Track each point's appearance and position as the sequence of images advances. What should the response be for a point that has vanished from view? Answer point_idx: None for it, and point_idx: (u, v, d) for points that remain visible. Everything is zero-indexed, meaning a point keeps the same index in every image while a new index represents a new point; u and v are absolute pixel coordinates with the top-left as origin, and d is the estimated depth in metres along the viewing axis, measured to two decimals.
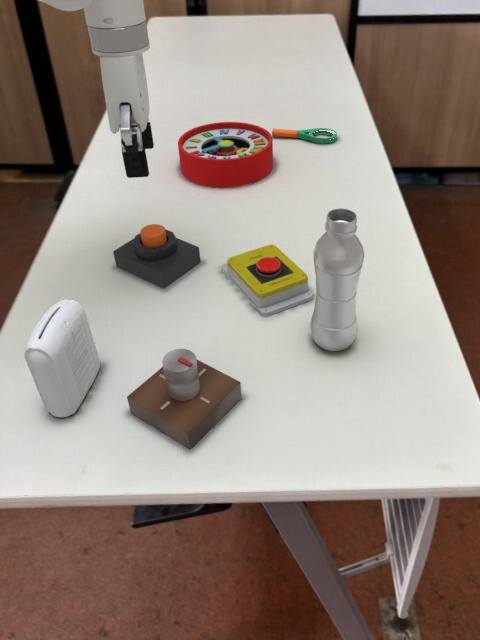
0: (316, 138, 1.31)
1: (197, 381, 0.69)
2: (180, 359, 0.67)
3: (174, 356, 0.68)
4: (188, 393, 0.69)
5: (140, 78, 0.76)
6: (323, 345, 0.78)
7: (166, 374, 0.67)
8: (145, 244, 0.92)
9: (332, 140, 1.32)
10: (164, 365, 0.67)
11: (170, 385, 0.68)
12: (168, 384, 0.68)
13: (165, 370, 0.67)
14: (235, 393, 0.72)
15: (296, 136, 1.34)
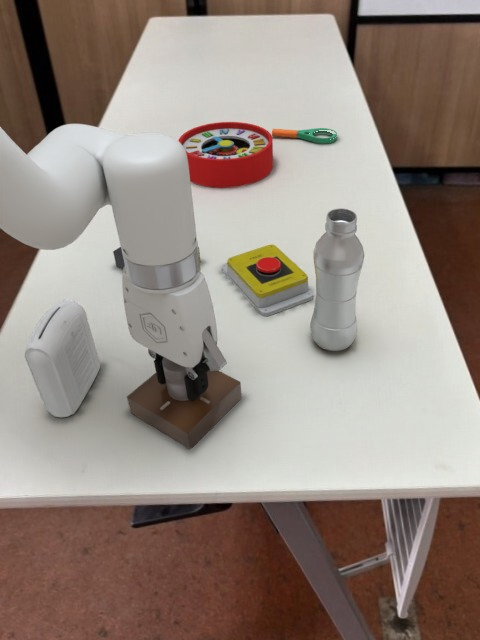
0: (316, 138, 1.31)
1: None
2: None
3: None
4: None
5: None
6: (323, 345, 0.78)
7: (166, 374, 0.67)
8: None
9: (332, 140, 1.32)
10: (164, 365, 0.67)
11: (170, 385, 0.68)
12: (168, 384, 0.68)
13: (165, 370, 0.67)
14: (235, 393, 0.72)
15: (296, 136, 1.34)
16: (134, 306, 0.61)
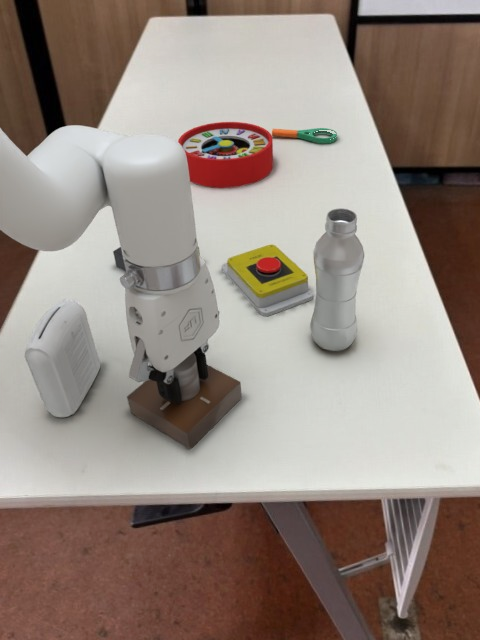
0: (316, 138, 1.31)
1: None
2: None
3: None
4: None
5: None
6: (323, 345, 0.78)
7: (190, 374, 0.67)
8: None
9: (332, 140, 1.32)
10: (185, 369, 0.66)
11: (194, 383, 0.68)
12: (192, 384, 0.68)
13: (189, 371, 0.67)
14: (235, 393, 0.72)
15: (296, 136, 1.34)
16: (172, 325, 0.59)
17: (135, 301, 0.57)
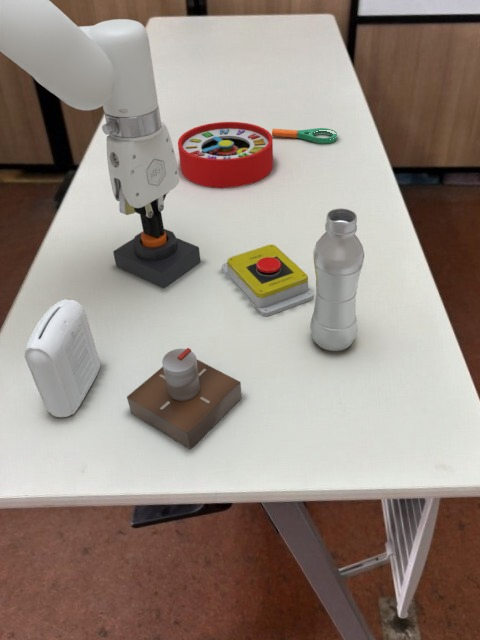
0: (316, 138, 1.31)
1: None
2: (181, 356, 0.67)
3: (174, 363, 0.67)
4: None
5: None
6: (323, 345, 0.78)
7: (190, 374, 0.67)
8: None
9: (332, 140, 1.32)
10: (185, 369, 0.66)
11: (194, 383, 0.68)
12: (192, 384, 0.68)
13: (189, 371, 0.67)
14: (235, 393, 0.72)
15: (296, 136, 1.34)
16: (141, 168, 0.81)
17: (113, 146, 0.79)
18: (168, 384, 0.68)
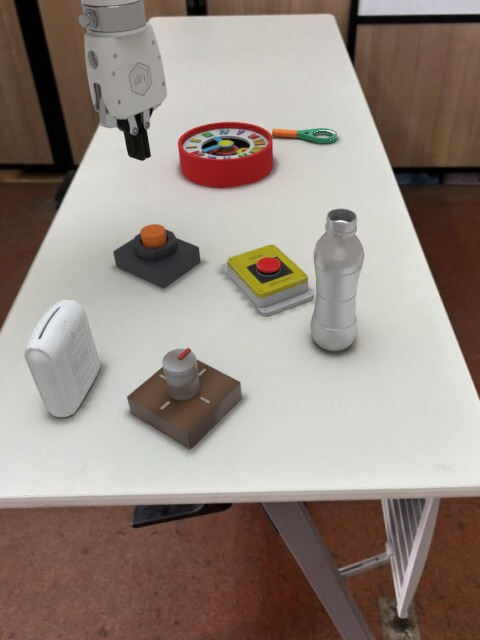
0: (316, 138, 1.31)
1: None
2: (181, 356, 0.67)
3: (174, 363, 0.67)
4: None
5: None
6: (323, 345, 0.78)
7: (190, 374, 0.67)
8: (145, 244, 0.92)
9: (332, 140, 1.32)
10: (185, 369, 0.66)
11: (194, 383, 0.68)
12: (192, 384, 0.68)
13: (189, 371, 0.67)
14: (235, 393, 0.72)
15: (296, 136, 1.34)
16: (123, 70, 0.72)
17: (92, 43, 0.70)
18: (168, 384, 0.68)
